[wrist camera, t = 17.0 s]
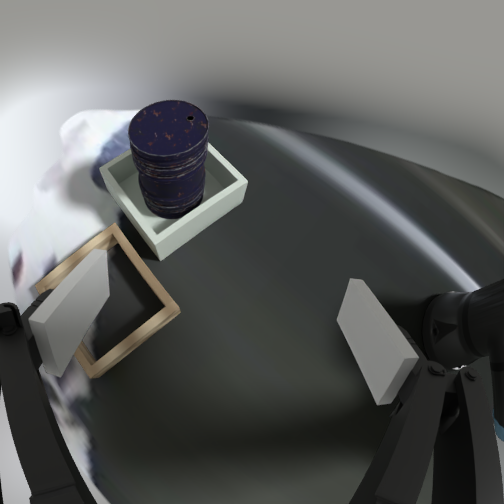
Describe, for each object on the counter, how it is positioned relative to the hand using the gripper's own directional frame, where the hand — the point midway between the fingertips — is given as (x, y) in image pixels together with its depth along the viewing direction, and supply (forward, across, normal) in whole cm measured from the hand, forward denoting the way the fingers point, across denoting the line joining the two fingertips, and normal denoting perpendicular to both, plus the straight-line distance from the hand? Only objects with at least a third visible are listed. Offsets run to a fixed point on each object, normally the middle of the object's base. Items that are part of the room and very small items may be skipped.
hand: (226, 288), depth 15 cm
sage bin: (+34, -9, -3) cm, 35 cm away
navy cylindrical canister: (+33, -9, -3) cm, 34 cm away
